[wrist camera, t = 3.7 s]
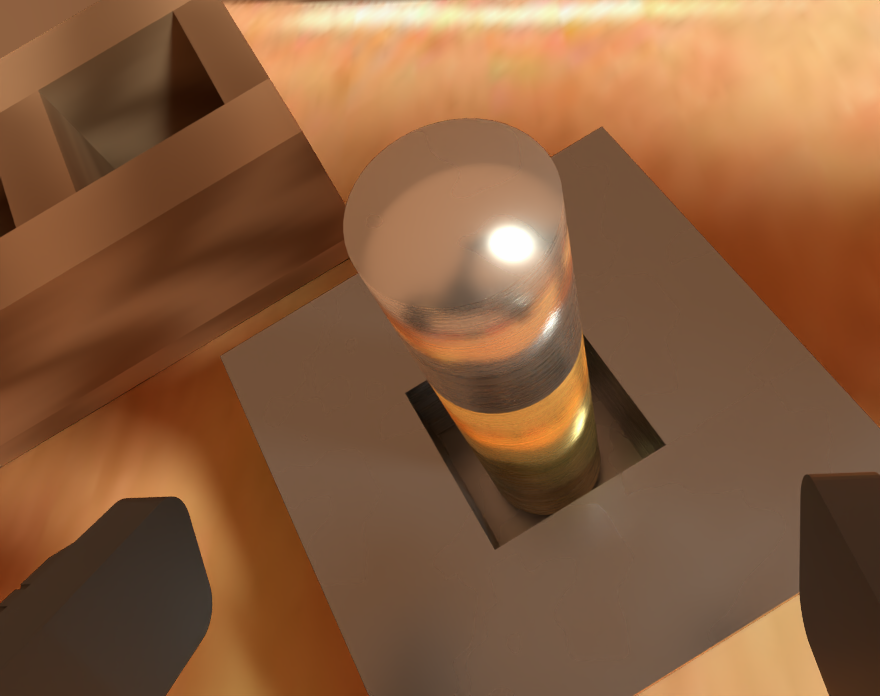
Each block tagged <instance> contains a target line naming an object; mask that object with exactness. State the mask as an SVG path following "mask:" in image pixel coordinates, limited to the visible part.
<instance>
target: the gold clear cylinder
mask: <svg viewBox="0 0 880 696" xmlns="http://www.w3.org/2000/svg"><path fill="white" fill-rule="evenodd" d="M343 233H344V241H345V246H346V249H347V252H348V255H349V257H350V259H351V261H352V263H353V265H354V267H355V269H356V270H357V272H358V273H359V275H360V276H361V278H362V279H363V281H364V283H365V284H366V286H367V287H368V289H369V290H370V292H371V293H372V295H373V297H374V298H375V300H376V301H377V303H378V304H379V306H380V307H381V309H382V310H383V312H384V314H385V315H386V317H387V318H388V320H389V321H390V323H391V324H392V326H393V328H394V329H395V331H396V332H397V334H398V335H399V337H400V338H401V340H402V342H403V343H404V345H405V346H406V348H407V349H408V351H409V352H410V354H411V356H412V357H413V359H414V360H415V362H416V363H417V365H418V366H419V368H420V369H421V371H422V373H423V374H424V376H425V377H426V379H427V380H428V382H429V383H430V385H431V387H432V388H433V390H434V391H435V393H436V394H437V396H438V397H439V399H440V401H441V402H442V404H443V405H444V407H445V408H446V410H447V411H448V413H449V414H450V416H451V418H452V419H453V421H454V422H455V424H456V425H457V427H458V428H459V430H460V432H461V433H462V435H463V436H464V438H465V439H466V441H467V442H468V444H469V446H470V447H471V449H472V450H473V452H474V453H475V455H476V456H477V458H478V460H479V461H480V463H481V464H482V466H483V467H484V469H485V470H486V472H487V473H488V475H489V477H490V478H491V480H492V481H493V483H494V484H495V486H496V487H497V489H498V490H499V492H500V493H501V495H502V496H503V497H504V498H505V499H506V500H507V501H508V502H509V503H511V504H512V505H513V506H515V507H517V508H518V509H521V510H523V511H525V512H528V513H532V514H538V515H551V514H554V513H556V512H558V511H559V510H561V509H563V508H564V507H566V506H567V505H569V504H571V503H572V502H574V501H576V500H577V499H579V498H580V497H582V496H584V495H585V494H587V493H589V492H590V491H591V490H592V488H593V487H594V485H595V483H596V481H597V478H598V475H599V470H600V452H599V445H598V438H597V431H596V424H595V417H594V410H593V403H592V396H591V389H590V382H589V374H588V367H587V360H586V353H585V346H584V339H583V332H582V325H581V318H580V311H579V304H578V297H577V290H576V283H575V276H574V269H573V262H572V255H571V248H570V241H569V234H568V227H567V220H566V213H565V206H564V199H563V192H562V185H561V180H560V177H559V174H558V171H557V169H556V167H555V164H554V162H553V160H552V159H551V157H550V156H549V155H548V153H547V152H546V151H545V149H544V148H543V147H542V146H541V145H540V144H539V143H538V142H537V141H535V140H534V139H533V138H531V137H530V136H529V135H527V134H526V133H524V132H522V131H520V130H518V129H517V128H514V127H512V126H509V125H507V124H504V123H500V122H496V121H492V120H485V119H469V118H464V119H453V120H447V121H442V122H437V123H434V124H431V125H427V126H424V127H422V128H419V129H417V130H414V131H412V132H410V133H408V134H406V135H405V136H403V137H401V138H399V139H398V140H396V141H395V142H393V143H392V144H390V145H389V146H387V147H386V148H385V149H384V150H383V151H381V152H380V153H379V154H378V155H377V156H376V157H375V158H374V159H373V160H372V161H371V162H370V163H369V164H368V166H367V167H366V168H365V169H364V171H363V172H362V173H361V175H360V176H359V178H358V179H357V181H356V183H355V184H354V186H353V189H352V191H351V193H350V195H349V198H348V201H347V204H346V208H345V214H344V220H343Z"/></svg>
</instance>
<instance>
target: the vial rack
mask: <svg viewBox="0 0 880 696" xmlns="http://www.w3.org/2000/svg"><path fill="white" fill-rule="evenodd" d="M345 208H346V206H345V204H344V202H343V200H342V199H341V197H340V195H339V194H338V192H337V190H336V188H335V187H334V185H333V183H332V182H331V180H330V178H329V176H328V175H327V173H326V171H325V170H324V168H323V166H322V164H321V163H320V161H319V159H318V158H317V156H316V154H315V152H314V151H313V149H312V147H311V146H310V144H309V142H308V140H307V139H306V137H305V135H304V134H303V132H302V130H301V129H300V127H299V125H298V124H297V122H296V120H295V119H294V117H293V116H292V114H291V112H290V111H289V109H288V107H287V106H286V104H285V103H284V101H283V99H282V98H281V96H280V95H279V93H278V91H277V90H276V88H275V86H274V85H273V83H272V82H271V80H270V78H269V77H268V75H267V74H266V72H265V70H264V69H263V67H262V65H261V64H260V62H259V61H258V59H257V57H256V56H255V54H254V52H253V51H252V49H251V48H250V46H249V44H248V43H247V41H246V40H245V38H244V36H243V35H242V33H241V31H240V30H239V28H238V27H237V25H236V23H235V22H234V20H233V19H232V17H231V15H230V14H229V12H228V10H227V9H226V7H225V6H224V4H223V2H222V1H221V0H99V1H98V2H96V3H94V4H93V5H91V6H89V7H88V8H86V9H84V10H83V11H81V12H79V13H77V14H76V15H74V16H72V17H71V18H69V19H67V20H66V21H64V22H62V23H60V24H59V25H57V26H56V27H53V28H52V29H50V30H48V31H47V32H45V33H43V34H42V35H40V36H38V37H36V38H35V39H33V40H32V41H30V42H28V43H26V44H25V45H23V46H21V47H19V48H18V49H16V50H14V51H13V52H11V53H9V54H7V55H6V56H4V57H2V58H1V59H0V467H2V466H4V465H5V464H7V463H9V462H10V461H12V460H14V459H15V458H17V457H19V456H20V455H22V454H24V453H25V452H27V451H29V450H30V449H32V448H34V447H35V446H37V445H39V444H40V443H42V442H44V441H45V440H47V439H49V438H50V437H52V436H54V435H55V434H57V433H59V432H60V431H62V430H64V429H65V428H67V427H69V426H70V425H72V424H73V423H75V422H77V421H78V420H80V419H82V418H83V417H85V416H87V415H88V414H90V413H92V412H93V411H95V410H97V409H98V408H100V407H102V406H103V405H105V404H107V403H108V402H110V401H112V400H113V399H115V398H117V397H118V396H120V395H122V394H123V393H125V392H127V391H128V390H130V389H132V388H133V387H135V386H137V385H138V384H140V383H142V382H143V381H145V380H147V379H148V378H150V377H152V376H153V375H155V374H157V373H158V372H160V371H162V370H163V369H165V368H167V367H168V366H170V365H172V364H173V363H175V362H177V361H178V360H180V359H182V358H183V357H185V356H187V355H188V354H190V353H192V352H193V351H195V350H197V349H198V348H200V347H202V346H203V345H205V344H207V343H208V342H210V341H212V340H213V339H215V338H217V337H218V336H220V335H222V334H223V333H225V332H227V331H228V330H230V329H232V328H233V327H235V326H237V325H238V324H240V323H242V322H243V321H245V320H247V319H248V318H250V317H252V316H253V315H255V314H257V313H258V312H260V311H262V310H263V309H265V308H267V307H268V306H270V305H272V304H273V303H275V302H277V301H278V300H280V299H282V298H283V297H285V296H287V295H288V294H290V293H292V292H293V291H295V290H297V289H298V288H300V287H302V286H303V285H305V284H307V283H308V282H310V281H312V280H313V279H315V278H317V277H318V276H320V275H322V274H323V273H325V272H327V271H328V270H330V269H332V268H333V267H335V266H337V265H338V264H340V263H342V262H343V261H345V260H347V259H348V258H350V257H349V255H348V252H347V249H346V246H345V241H344V233H343V220H344V214H345Z"/></svg>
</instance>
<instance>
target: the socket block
mask: <svg viewBox="0 0 880 696" xmlns="http://www.w3.org/2000/svg"><path fill="white" fill-rule="evenodd" d="M551 159H552V160H553V162H554V164H555V167H556V169H557V171H558V174H559V177H560V180H561V185H562V192H563V199H564V206H565V213H566V220H567V227H568V234H569V241H570V248H571V255H572V262H573V269H574V276H575V283H576V290H577V297H578V304H579V311H580V318H581V325H582V332H583V339H584V346H585V353H586V360H587V367H588V374H589V382H590V389H591V396H592V403H593V410H594V417H595V424H596V431H597V438H598V445H599V452H600V470H599V475H598V478H597V481H596V483H595V485H594V487H593V488H592V490H591V491H590V492H589V493H587V494H585V495H584V496H582V497H580V498H579V499H577V500H576V501H574V502H572V503H571V504H569V505H567V506H566V507H564V508H563V509H561V510H559V511H558V512H556V513H554V514H551V515H538V514H532V513H528V512H525V511H523V510H521V509H518V508H517V507H515V506H513V505H512V504H511V503H509V502H508V501H507V500H506V499H505V498H504V497H503V496H502V495H501V493H500V492H499V490H498V489H497V487H496V486H495V484H494V483H493V481H492V480H491V478H490V477H489V475H488V473H487V472H486V470H485V469H484V467H483V466H482V464H481V463H480V461H479V460H478V458H477V456H476V455H475V453H474V452H473V450H472V449H471V447H470V446H469V444H468V442H467V441H466V439H465V438H464V436H463V435H462V433H461V432H460V430H459V428H458V427H457V425H456V424H455V422H454V421H453V419H452V418H451V416H450V414H449V413H448V411H447V410H446V408H445V407H444V405H443V404H442V402H441V401H440V399H439V397H438V396H437V394H436V393H435V391H434V390H433V388H432V387H431V385H430V383H429V382H428V380H427V379H426V377H425V376H424V374H423V373H422V371H421V369H420V368H419V366H418V365H417V363H416V362H415V360H414V359H413V357H412V356H411V354H410V352H409V351H408V349H407V348H406V346H405V345H404V343H403V342H402V340H401V338H400V337H399V335H398V334H397V332H396V331H395V329H394V328H393V326H392V324H391V323H390V321H389V320H388V318H387V317H386V315H385V314H384V312H383V310H382V309H381V307H380V306H379V304H378V303H377V301H376V300H375V298H374V297H373V295H372V293H371V292H370V290H369V289H368V287H367V286H366V284H365V283H364V281H363V279H362V278H361V276H360V275H359V273H358V274H356V275H354V276H353V277H351V278H349V279H348V280H346V281H344V282H343V283H341V284H339V285H338V286H336V287H334V288H333V289H331V290H329V291H328V292H326V293H324V294H323V295H321V296H319V297H318V298H316V299H314V300H313V301H311V302H309V303H308V304H306V305H304V306H303V307H301V308H299V309H298V310H296V311H294V312H293V313H291V314H289V315H288V316H286V317H284V318H283V319H281V320H279V321H278V322H276V323H274V324H273V325H271V326H269V327H268V328H266V329H264V330H263V331H261V332H259V333H258V334H256V335H254V336H253V337H251V338H249V339H248V340H246V341H244V342H243V343H241V344H239V345H238V346H236V347H234V348H233V349H231V350H229V351H228V352H226V353H224V354H223V355H221V356H220V357H221V360H222V362H223V364H224V366H225V369H226V371H227V373H228V375H229V378H230V380H231V382H232V385H233V387H234V389H235V391H236V394H237V396H238V398H239V401H240V403H241V405H242V407H243V410H244V412H245V414H246V417H247V419H248V421H249V423H250V426H251V428H252V430H253V433H254V435H255V437H256V439H257V442H258V444H259V446H260V448H261V451H262V453H263V455H264V458H265V460H266V462H267V464H268V467H269V469H270V471H271V474H272V476H273V478H274V480H275V483H276V485H277V487H278V490H279V492H280V494H281V496H282V499H283V501H284V503H285V505H286V508H287V510H288V512H289V515H290V517H291V519H292V521H293V524H294V526H295V528H296V531H297V533H298V535H299V537H300V540H301V542H302V544H303V547H304V549H305V551H306V553H307V556H308V558H309V560H310V563H311V565H312V567H313V569H314V572H315V574H316V576H317V578H318V581H319V583H320V585H321V588H322V590H323V592H324V594H325V597H326V599H327V601H328V604H329V606H330V608H331V610H332V613H333V615H334V617H335V620H336V622H337V624H338V626H339V629H340V631H341V633H342V635H343V638H344V640H345V642H346V645H347V647H348V649H349V651H350V654H351V656H352V658H353V661H354V663H355V665H356V667H357V670H358V672H359V674H360V677H361V679H362V681H363V683H364V686H365V688H366V690H367V693H368V695H369V696H636V695H638V694H639V693H641V692H642V691H644V690H646V689H647V688H649V687H651V686H652V685H654V684H655V683H657V682H659V681H660V680H662V679H663V678H665V677H667V676H668V675H670V674H671V673H673V672H675V671H676V670H678V669H680V668H681V667H683V666H684V665H686V664H688V663H689V662H691V661H692V660H694V659H696V658H697V657H699V656H700V655H702V654H704V653H705V652H707V651H708V650H710V649H712V648H713V647H715V646H717V645H718V644H720V643H721V642H723V641H725V640H726V639H728V638H729V637H731V636H733V635H734V634H736V633H737V632H739V631H741V630H742V629H744V628H746V627H747V626H749V625H750V624H752V623H754V622H755V621H757V620H758V619H760V618H762V617H763V616H765V615H766V614H768V613H770V612H771V611H773V610H774V609H776V608H778V607H779V606H781V605H783V604H784V603H786V602H787V601H789V600H791V599H792V598H794V597H795V596H797V595H799V594H800V592H799V563H800V493H801V483H802V479H803V477H804V476H805V475H806V474H828V473H855V472H877V473H878V474H879V475H880V428H879V427H878V426H877V425H876V424H875V423H874V421H873V420H872V419H871V418H870V417H869V416H868V415H867V414H866V413H865V412H864V411H863V410H862V408H861V407H860V406H859V405H858V404H857V403H856V402H855V401H854V400H853V399H852V398H851V396H850V395H849V394H848V393H847V392H846V391H845V390H844V389H843V388H842V387H841V386H840V385H839V383H838V382H837V381H836V380H835V379H834V378H833V377H832V376H831V375H830V374H829V373H828V371H827V370H826V369H825V368H824V367H823V366H822V365H821V364H820V363H819V362H818V361H817V360H816V358H815V357H814V356H813V355H812V354H811V353H810V352H809V351H808V350H807V349H806V348H805V347H804V345H803V344H802V343H801V342H800V341H799V340H798V339H797V338H796V337H795V336H794V335H793V333H792V332H791V331H790V330H789V329H788V328H787V327H786V326H785V325H784V324H783V323H782V322H781V320H780V319H779V318H778V317H777V316H776V315H775V314H774V313H773V312H772V311H771V310H770V309H769V307H768V306H767V305H766V304H765V303H764V302H763V301H762V300H761V299H760V298H759V297H758V295H757V294H756V293H755V292H754V291H753V290H752V289H751V288H750V287H749V286H748V285H747V284H746V282H745V281H744V280H743V279H742V278H741V277H740V276H739V275H738V274H737V273H736V272H735V270H734V269H733V268H732V267H731V266H730V265H729V264H728V263H727V262H726V261H725V260H724V259H723V257H722V256H721V255H720V254H719V253H718V252H717V251H716V250H715V249H714V248H713V247H712V246H711V244H710V243H709V242H708V241H707V240H706V239H705V238H704V237H703V236H702V235H701V234H700V232H699V231H698V230H697V229H696V228H695V227H694V226H693V225H692V224H691V223H690V222H689V221H688V219H687V218H686V217H685V216H684V215H683V214H682V213H681V212H680V211H679V210H678V209H677V208H676V206H675V205H674V204H673V203H672V202H671V201H670V200H669V199H668V198H667V197H666V196H665V194H664V193H663V192H662V191H661V190H660V189H659V188H658V187H657V186H656V185H655V184H654V183H653V181H652V180H651V179H650V178H649V177H648V176H647V175H646V174H645V173H644V172H643V171H642V169H641V168H640V167H639V166H638V165H637V164H636V163H635V162H634V161H633V160H632V159H631V158H630V156H629V155H628V154H627V153H626V152H625V151H624V150H623V149H622V148H621V147H620V146H619V145H618V143H617V142H616V141H615V140H614V139H613V138H612V137H611V136H610V135H609V134H608V133H607V131H606V130H605V129H604V128H603V127H600V128H599V129H597V130H595V131H594V132H592V133H590V134H589V135H587V136H585V137H584V138H582V139H580V140H579V141H577V142H575V143H574V144H572V145H570V146H569V147H567V148H565V149H564V150H562V151H560V152H559V153H557V154H555V155H554V156H552V157H551Z"/></svg>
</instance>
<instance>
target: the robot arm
mask: <svg viewBox="0 0 880 696" xmlns="http://www.w3.org/2000/svg"><path fill="white" fill-rule="evenodd" d="M799 592H800V603H801V611H802V617H803V622H804V627H805V631H806V635H807V638H808V641H809V644H810V647H811V649H812V652H813V655H814V657H815V660H816V662H817V665H818V668H819V670H820V673H821V675H822V678H823V681H824V683H825V686H826V688H827V691H828V694H829V696H880V475H879V474H878V473H877V472H855V473H828V474H806V475H805V476H804V477H803V479H802V483H801V493H800V563H799ZM211 613H212V593H211V588H210V584H209V581H208V577H207V574H206V571H205V567H204V564H203V560H202V557H201V554H200V550H199V547H198V543H197V540H196V536H195V533H194V530H193V526H192V523H191V519H190V516H189V513H188V510H187V508H186V506H185V504H184V503H183V502H182V501H181V500H180V499H179V498H177V497H148V498H126V499H122V500H120V501H118V502H117V503H115V504H114V505H113V506H112V507H111V508H110V509H109V510H108V511H107V512H106V513H105V514H104V515H103V516H102V517H101V518H99V519H98V520H97V521H96V522H95V523H94V524H93V525H92V526H91V527H90V528H89V529H88V530H87V531H86V532H85V533H84V534H83V535H82V536H81V537H80V538H78V539H77V540H76V541H75V542H74V543H72V544H71V545H69V546H67V547H66V548H64V549H63V550H61V551H59V552H58V553H56V554H54V555H53V556H51V557H50V558H48V559H47V560H46V561H45V562H44V563H43V564H42V565H41V566H40V567H39V568H38V569H37V570H35V571H34V572H33V573H32V574H31V575H30V576H29V577H28V578H27V579H26V580H25V581H24V582H23V583H22V584H21V588H20V590H14V591H13V592H12V593H11V594H10V595H9V596H8V597H7V598H6V599H5V600H3V601H2V602H1V603H0V696H166V694H167V693H168V691H169V690H170V688H171V687H172V685H173V684H174V682H175V681H176V679H177V678H178V676H179V674H180V673H181V671H182V670H183V668H184V667H185V665H186V664H187V662H188V661H189V659H190V658H191V656H192V655H193V653H194V652H195V650H196V649H197V647H198V645H199V644H200V642H201V641H202V639H203V638H204V636H205V634H206V632H207V629H208V626H209V623H210V619H211Z"/></svg>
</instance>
